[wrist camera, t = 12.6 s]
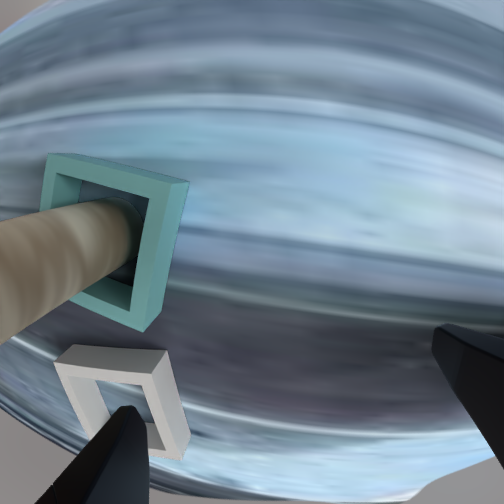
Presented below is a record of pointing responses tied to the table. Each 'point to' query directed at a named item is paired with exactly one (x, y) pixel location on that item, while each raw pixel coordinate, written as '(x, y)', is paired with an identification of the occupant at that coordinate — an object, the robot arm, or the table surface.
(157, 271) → the teal socket
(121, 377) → the grey socket
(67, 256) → the peg
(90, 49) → the table surface
